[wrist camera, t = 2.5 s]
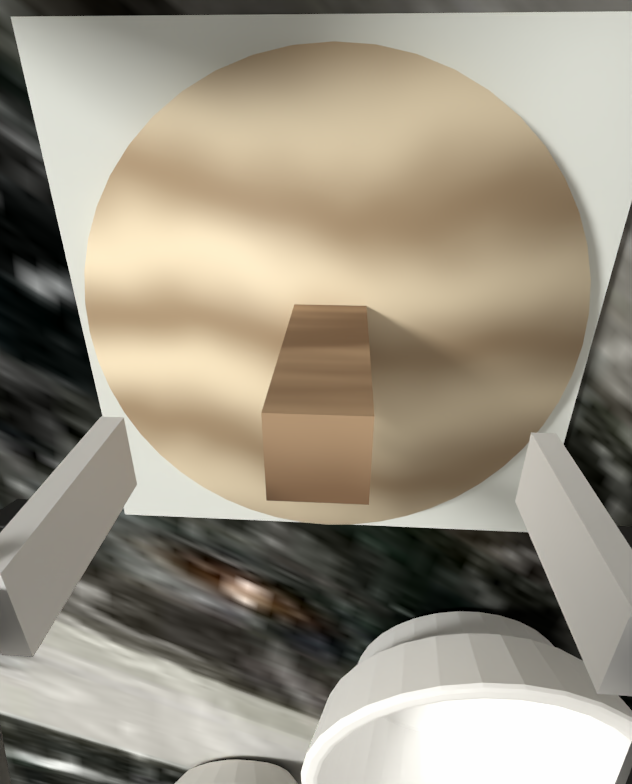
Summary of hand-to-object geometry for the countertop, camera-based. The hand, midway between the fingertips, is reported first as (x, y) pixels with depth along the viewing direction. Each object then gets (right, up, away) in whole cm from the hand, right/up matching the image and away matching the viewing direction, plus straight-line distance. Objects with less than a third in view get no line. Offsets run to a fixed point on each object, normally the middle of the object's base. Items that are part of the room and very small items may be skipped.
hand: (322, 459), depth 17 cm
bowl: (+10, -19, +23) cm, 32 cm away
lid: (0, +5, +9) cm, 11 cm away
